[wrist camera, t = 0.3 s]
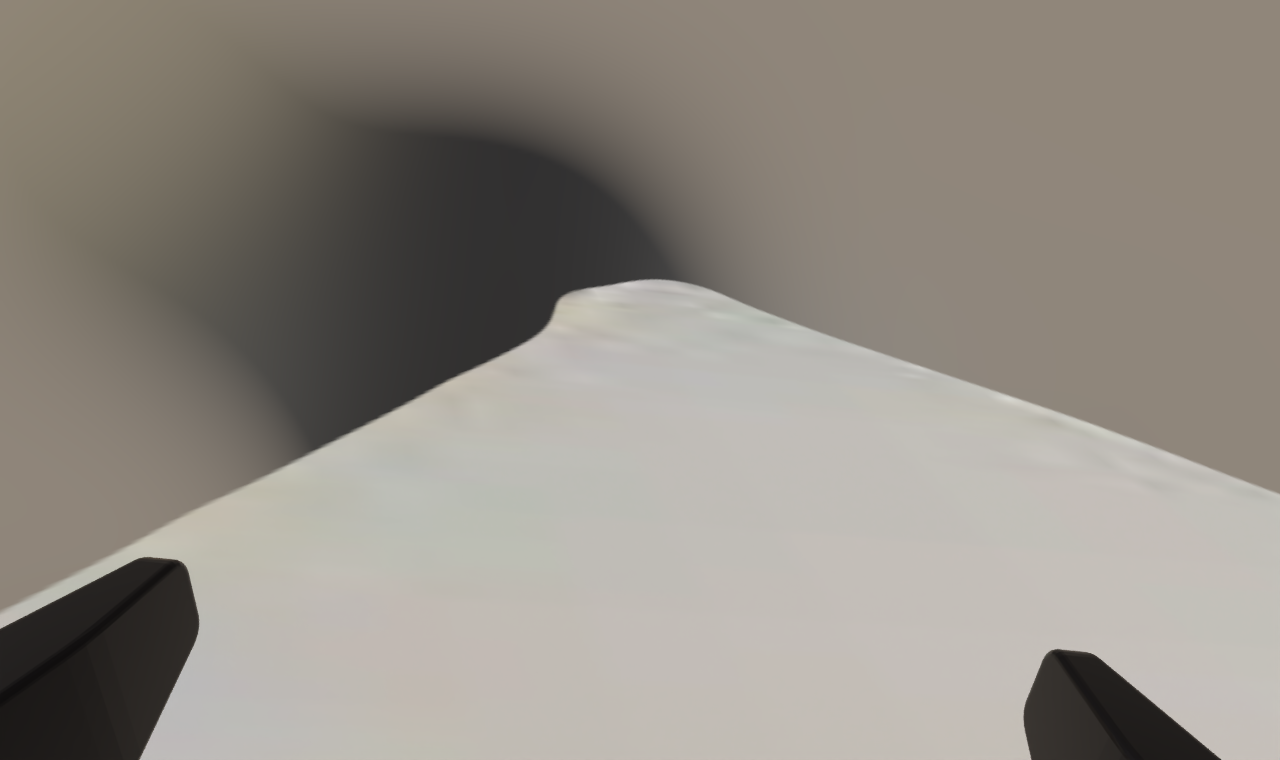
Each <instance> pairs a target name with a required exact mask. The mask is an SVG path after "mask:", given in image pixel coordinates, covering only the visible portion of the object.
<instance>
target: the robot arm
mask: <svg viewBox="0 0 1280 760" xmlns="http://www.w3.org/2000/svg"><path fill="white" fill-rule="evenodd" d="M198 630H199V615H198V611H197V607H196V602H195V598H194V594H193V589H192V585H191V581H190V577H189V573H188V570H187V567H186V566H185V565H184V564H183V563H182V562H180V561H178V560H173V559H163V558H153V557H143V558H139V559H137V560H134V561H132V562H130V563H128V564H126V565H124V566H122V567H121V568H119V569H117V570H115V571H113V572H111V573H109V574H107V575H105V576H103V577H101V578H99V579H97V580H95V581H93V582H91V583H89V584H87V585H85V586H83V587H81V588H79V589H77V590H75V591H74V592H72V593H70V594H68V595H66V596H64V597H62V598H60V599H58V600H56V601H54V602H52V603H50V604H48V605H46V606H44V607H42V608H40V609H38V610H36V611H34V612H32V613H30V614H28V615H27V616H25V617H23V618H21V619H19V620H17V621H15V622H13V623H11V624H9V625H7V626H5V627H3V628H1V629H0V760H139V759H140V757H141V755H142V753H143V751H144V749H145V747H146V745H147V743H148V741H149V739H150V736H151V734H152V732H153V730H154V728H155V726H156V724H157V722H158V720H159V717H160V715H161V713H162V711H163V709H164V707H165V705H166V703H167V701H168V698H169V696H170V694H171V692H172V690H173V688H174V686H175V684H176V682H177V679H178V677H179V675H180V673H181V671H182V669H183V667H184V665H185V663H186V661H187V658H188V656H189V654H190V652H191V650H192V648H193V646H194V643H195V641H196V638H197V635H198ZM1024 728H1025V733H1026V737H1027V742H1028V746H1029V751H1030V755H1031V760H1221V759H1220V758H1219V757H1217V756H1216V755H1215V754H1214V753H1213V752H1211V751H1210V750H1209V749H1208V748H1207V747H1205V746H1204V745H1203V744H1202V743H1201V742H1199V741H1198V740H1197V739H1196V738H1195V737H1193V736H1192V735H1191V734H1190V733H1189V732H1187V731H1186V730H1185V729H1184V728H1183V727H1181V726H1180V725H1179V724H1178V723H1177V722H1175V721H1174V720H1173V719H1172V718H1171V717H1169V716H1168V715H1167V714H1166V713H1165V712H1163V711H1162V710H1161V709H1160V708H1159V707H1157V706H1156V705H1155V704H1154V703H1153V702H1151V701H1150V700H1149V699H1148V698H1147V697H1145V696H1144V695H1143V694H1142V693H1141V692H1139V691H1138V690H1137V689H1136V688H1135V687H1133V686H1132V685H1131V684H1130V683H1129V682H1127V681H1126V680H1125V679H1124V678H1123V677H1121V676H1120V675H1119V674H1118V673H1117V672H1115V671H1114V670H1113V669H1112V668H1111V667H1109V666H1108V665H1107V664H1106V663H1105V662H1103V661H1102V660H1101V659H1100V658H1098V657H1097V656H1095V655H1093V654H1091V653H1087V652H1080V651H1070V650H1060V649H1056V650H1051V651H1050V652H1048V653H1047V654H1046V655H1045V657H1044V659H1043V661H1042V664H1041V666H1040V668H1039V671H1038V673H1037V676H1036V678H1035V681H1034V683H1033V686H1032V688H1031V691H1030V693H1029V695H1028V698H1027V700H1026V704H1025V708H1024Z"/></svg>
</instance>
